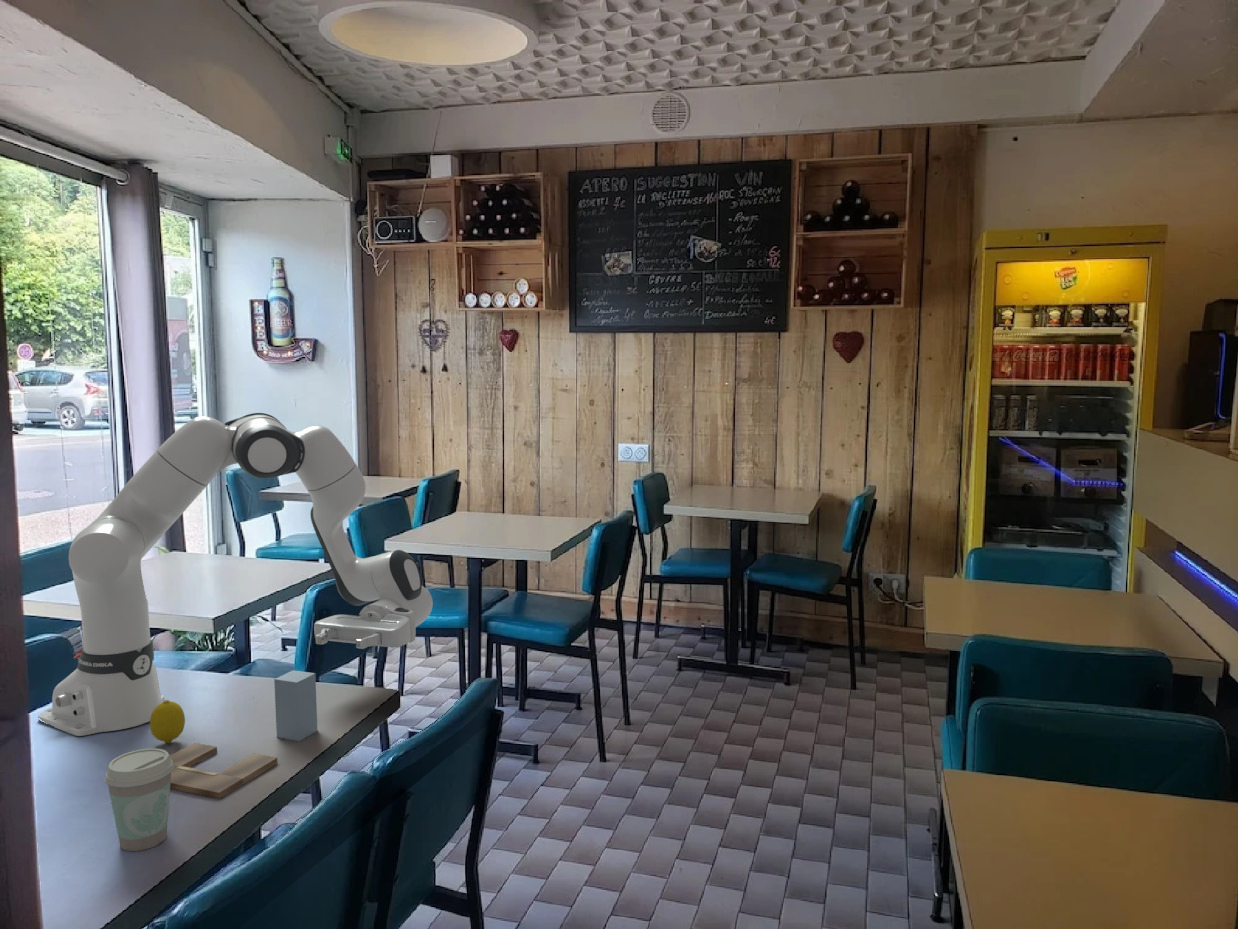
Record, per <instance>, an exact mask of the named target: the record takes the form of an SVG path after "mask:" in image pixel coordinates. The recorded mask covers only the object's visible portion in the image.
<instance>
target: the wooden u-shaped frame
mask: <svg viewBox="0 0 1238 929" xmlns="http://www.w3.org/2000/svg"><path fill="white" fill-rule="evenodd" d="M216 753H218V747H217V746H215V745H210V744H204V743H198V742H193V743H191V744H189V745H187V746H185V747H183V748H181V749H179V750H178V751H176V752H173V753H172V754H169V756H170V758H171V759H172V761H173V765H174V768H173V770H172V771H171V783H170V790H174V791H175V790H176V791H180V792H185V793H189V794H194V793H195V795H199V796H204V797H208V798H213V799H219V800H220V799H221V798H224V797H225V796H227V795H228V794H230V793H231V792H233V791H235V790H236V789H238V788H239V787H241V786H242V785H245V784H246V783H248V782H249V781H251V780H252V779H254V778H256V777H257V776H259V775H261V774H263V773H264V772H265V771H268V769H271V768H272V767H274V766H275V765H277V764H279V763H278V760H279V759H278V757H276V756H270V755H265V754H259V753H252V754H250V755H249V756H246V757H245V758H243V759H242V760H239V761H238V762H236V763H234V764H233V765H231V766H229V767H227V768H225V769H223V770H222V771H221V772H219V773H218V772H213V771H209V770H204V769H199V768H194V767H193V766H195V765H196V764H198V763H201V762H202V761H204V760H206V759H207V758H209V757H211V756H213V755H214V754H216Z"/></svg>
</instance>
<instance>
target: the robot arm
mask: <svg viewBox="0 0 1238 929" xmlns="http://www.w3.org/2000/svg"><path fill="white" fill-rule="evenodd" d="M236 464H237V465H238V466H239V467H240V468H241V470H242V471H243V472H245V473H246V474H247V475H250V476H252V477H254V478H257V479H265V480H266V479H268V480H269V479H273V478H277V477H280V476H284V475H285V476H286V475H289V474H293V473H295V474H296V475H297V477H298V478H299V479H300V481H301V482H302V485H304V488H305V489H306V490H307V492H308V494H309V495H310V499H311V502H312V506H311V508H310V521H311V524H312V527H313V530H314V532H315V534H316V538H317V539H318V542H319V544H320V546H321V548H322V551H323V553H324V555H325V557H326V559H327V562H328V564H329V566H330V569H331V571H332V574H333V576H334V580H335V586H336V588H337V592H338V593H339V595H340V596H341V598H342V599H343V600H344V601H346V603H348V604H350V605H352V606H355V607H358V606H359V607H360V606H363V605H365V606H364V607H363V608H362V609H361V610H360V612H359V614H358V615H353V614H334V615H331V616H328V617H325V618H322V619H320V620H316V621H315V623H314V624H313V625H314V626H313V627H314V629H313V630H314V639H315V644H316V645H325V644H327V643H328V641H329V642H338V643H349V644H356V645H355V648H356V649H361V650H364V649H366V648H368V647H375V646H376V647H383V648H384V647H385V648H392V649H393V648H400V647H402V646H404V645H406V644H408V643H413V642H414V641H416V637H417V636H416V633H417V632H416V628H417V627H418V626H420V625H421V624H422V623H423V622H425V621H426V620H427V619H428V617H429V616H430V614H431V613H432V610H433V607H434V606H433V603H434V602H433V597H432V595H431V593H430V591H429V590H428V589H427V588H426V587H425V586H424V585H423V584H422V582H423V581H422V573H421V571H420V568H419V565H418V563H417V562H416V560H415V559H414V558H413V557H412V555H411V554H409V553H408V552H406V551H404V550H402V549H395V550H392V551H388V552H383V553H380V554H377V555H374V556H369V557H365V558H364V557H363V558H362V557H359V556H357V555H356V554H355V553H354V551H353V548H352V546H351V543H350V541H349V539H348V536H347V534H346V532H345V529H344V520H345V519H347V518H348V517H349V516H350V515H352V513H353V512H354V511H355V510H356V509H357V508H358V507H359V506H360V505H361V503H362V501H363V499H364V497H365V494H366V487H367V486H366V481H365V478H364V476H363V473H362V471H361V470H360V469H359V466H358V465H357V464H356V462H355V460H354V459H353V457H352V455H351V454H350V452H349V451H348V449H347V448H346V447H345V445H344V444H343V442H341V441H340V440H339V438H338V436H336V435H335V433H333V431H332V430H330V429H329V428H328V427H326V426H323V425H313V426H312V425H311V426H308V427H307V426H306V427H305V428H303V429H301V430H299V431H290V430H289V429H287V427H286V426H285V425H284V424H283V423H282V421H280V420H278V419H277V418H276V417H275V416H273V415H271V414H268V413H264V412H253V413H249V414H246V415H243V416H241V417H238V418H234V419H232V420H228V421H226V422H225V423H223V422H222V421H220V420H218V419H216V418H214V417H211V416H205V415H199V416H196V417H193V418H192V419H190V420H189V421H187V422H185V424H183V425H182V426H181V427H180V428H178V429H177V430H176V431H175V432H174V433H172V435H170V436H169V437H168V438H167V439H166V440H164V442H163V443H162V444H161V445H160V446H159V447H158V448H157V449H156V450H155V451H154V453H153V454H152V455H151V456H150V457H149V458H148V459H147V460H146V462H144V464H143V465H141V467H140V468H139V469H138V470H137V471H136V472H135V474H133V476H131V478H130V479H129V480H128V481H127V483H126V484H125V485H124V486H123V487H122V489H121V490H120V491H119V493H118V494H117V495H116V496H115V497H114V498H113V500H112V501H111V502H109V504H108V505H107V507H106V508H105V509H104V510H103V511H102V513H101V514H100V515H99V516H98V517H97V518H95V519H94V521H93V522H91V523H90V524H89V525H88V526H87V527H85V528H83V529H82V530H80V531H79V532H78V533H77V534H76V536H75V537H74V538H73V539H72V541H71V544H70V547H69V550H68V565H69V568H70V569H71V572H72V577H73V582H74V588H75V591H76V595H77V599H78V602H79V607H80V615H81V627H82V628H81V630H82V643H83V648H82V649H81V650H78V651H75V652H73V655H75V654H77V655H75V656H74V657H73V659H77V658H79V659H78V662H77V666H76V669H75V670H73V672H71V673H70V674H69V675H68V676H66V677H65V678H64V679H62V681H61V682H59V683H58V684H57V685H56V686H55V687H54V689H53V692H52V698H51V699H52V702H51V703H52V704H51V707H49V708H47V709H45V710H44V711H43V712H41V713H39V715H38V718H40V719H41V720H42V721H44V722H45V723H47V724H50V725H52V726H54V727H53V728H55V729H57V730H61V731H63V732H65V733H68V734H70V735H73V736H75V737H81V736H88V735H89V736H90V735H92V734H97V733H103V732H104V733H106V732H112V731H121V730H125V729H130V728H135V727H137V726H141V725H143V724H146V723H150V719H151V714H152V712H153V710H154V709H155V708H156V707H157V706H158V705H159V704H161V703H163V702H164V701H165V695H164V694H161V689H160V688H161V687H160V683H159V677H158V672H157V671H158V670H157V667H156V664H155V662H154V660H155V646H154V642H153V640H152V639H151V631H150V629H151V628H150V613H149V611H150V610H149V601H148V599H147V595H146V591H145V587H144V586H145V585H144V579H143V574H142V567H141V566H142V560H143V558H144V557H145V556H146V555H147V554H148V552H149V551H150V550H151V549H152V548H153V547H154V546H155V544H157V542H158V541H160V539H161V538H162V537H163V536H164V534H165V533H166V532H167V531H168V530H169V529H170V528H171V527H172V525H174V523H175V522H177V520H178V519H179V518H180V517H181V516H182V514H183V513H184V512H185V511H186V510H187V509H188V508H189V507H190V505H191V504H193V502H194V501H195V500H196V499H197V498H198V496H200V495H201V493H202V492H203V491H204V490H205V489H206V487H207V486H208V485H209V484H210V483H211V481H213V479H214V478H215V477H216V476H217V474H218V473H220V472H221V471H222V470H223V469H225V468H227V467H229V466H232V465H236ZM366 604H367V605H366ZM38 718H37V719H38ZM45 723H44V724H45ZM47 724H46V725H47ZM50 725H49V726H50ZM52 726H51V727H52Z"/></svg>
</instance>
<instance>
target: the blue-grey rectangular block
mask: <svg viewBox="0 0 1238 929" xmlns="http://www.w3.org/2000/svg"><path fill="white" fill-rule="evenodd" d="M273 682H274V701H275V703H274V704H275V705H274V706H275V728H276V729H275V730H276V738H277V737H279V739H283V738H285V740H290V741H295V742H300V741H302V740H304V739H305V737H306V738H307V737H309V736H311V735H312V734H314V733H316V732H318V708H317V707H318V706H317V705H318V703H317V683H316V672H315V673H314V672H308V671H301V670H294V669H293V670H290V671H289V672H286V673H285V674H282V675H280V676H278V677H276V678H274V681H273ZM315 731H316V732H315Z"/></svg>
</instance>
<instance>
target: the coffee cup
mask: <svg viewBox="0 0 1238 929" xmlns="http://www.w3.org/2000/svg"><path fill="white" fill-rule="evenodd" d="M173 768H174V765H173V761H172V759H171V758H170V754H169V752H168V751H167V750H166V749H163V748H143V749H137V750H133V751H130V752H125V753H124V754H120V755H119V756H116V757H114V758H113V759H112V760H111V761H110V762H109V764H108V767H107V770H106V771H105V774H104V782H105V784H107V787H108V792H109V797H110V801H111V802H110V803H111V806H112V812H113V817H114V822H115V826H116V832H117V837H118V841H119V846H120V848H121V850H123V851H128V852H140V851H144V850H145V851H146V850H148V849H151V848H154V847H156V846H158V845H160V844H161V843H163V841H164V840H165V839H166V838H167V835H168V834H167V833H168V825H169V823H168V822H169V808H170V793H171V789H170V783H171V771H172V770H173Z"/></svg>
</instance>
